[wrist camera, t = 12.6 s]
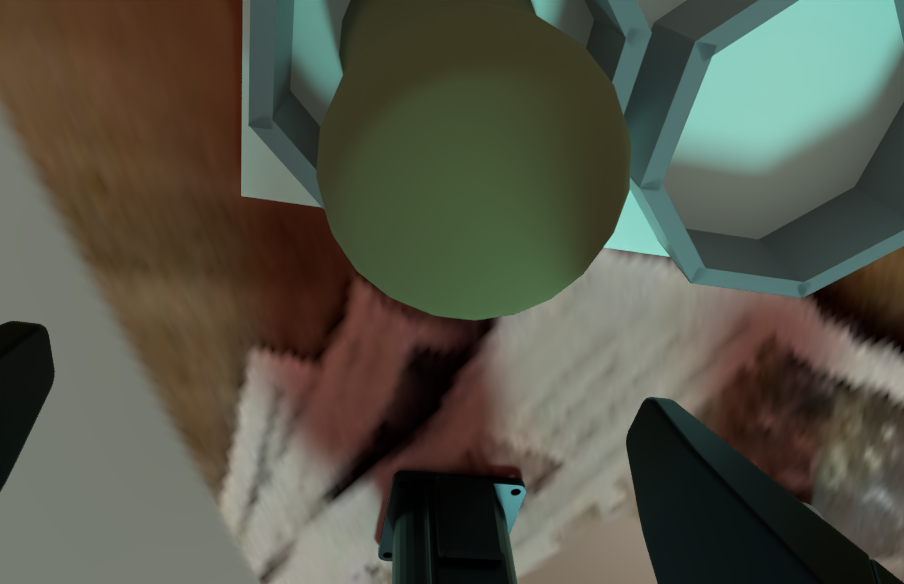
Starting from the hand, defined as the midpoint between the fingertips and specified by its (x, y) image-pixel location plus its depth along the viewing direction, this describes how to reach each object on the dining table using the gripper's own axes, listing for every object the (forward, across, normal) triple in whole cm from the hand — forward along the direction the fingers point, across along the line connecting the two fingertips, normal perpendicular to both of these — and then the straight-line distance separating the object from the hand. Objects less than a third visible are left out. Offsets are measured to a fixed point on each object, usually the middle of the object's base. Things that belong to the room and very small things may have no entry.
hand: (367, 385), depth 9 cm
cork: (+12, -1, -3) cm, 12 cm away
